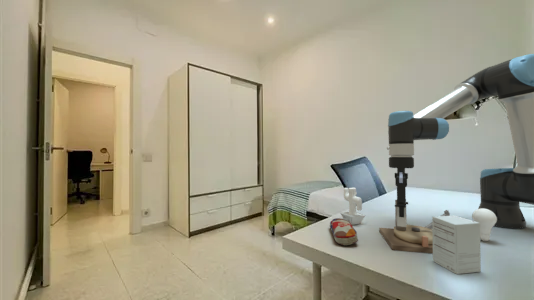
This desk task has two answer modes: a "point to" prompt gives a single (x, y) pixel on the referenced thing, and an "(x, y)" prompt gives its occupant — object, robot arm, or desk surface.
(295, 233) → the desk surface
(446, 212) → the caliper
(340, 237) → the pencil case
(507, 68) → the robot arm
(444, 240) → the supplement box
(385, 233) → the stand
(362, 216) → the figurine
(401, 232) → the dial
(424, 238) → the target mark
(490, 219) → the lightbulb
